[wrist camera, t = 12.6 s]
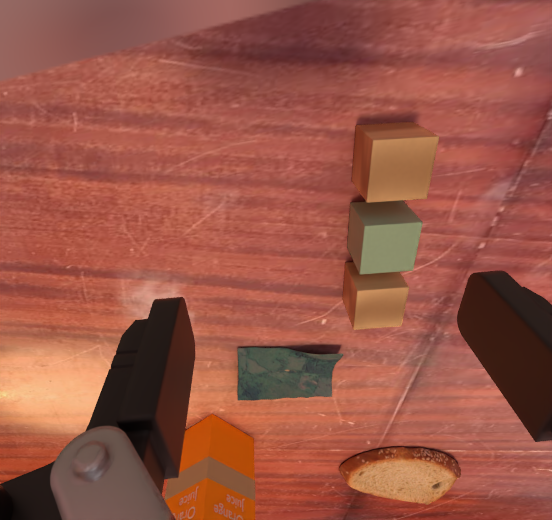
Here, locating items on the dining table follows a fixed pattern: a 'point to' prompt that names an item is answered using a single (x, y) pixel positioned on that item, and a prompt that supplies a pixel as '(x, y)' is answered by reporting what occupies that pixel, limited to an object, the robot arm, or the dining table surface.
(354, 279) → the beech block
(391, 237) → the sage block
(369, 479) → the bread slice
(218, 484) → the orange juice
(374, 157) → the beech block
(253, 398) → the terrain model
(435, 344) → the dining table surface
